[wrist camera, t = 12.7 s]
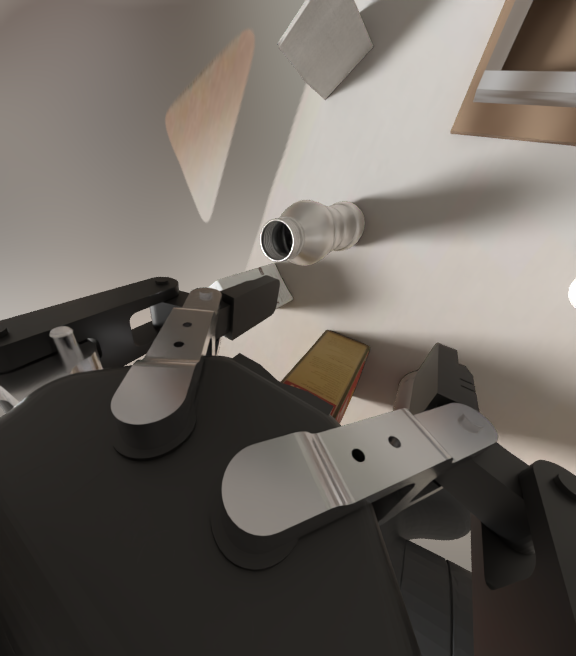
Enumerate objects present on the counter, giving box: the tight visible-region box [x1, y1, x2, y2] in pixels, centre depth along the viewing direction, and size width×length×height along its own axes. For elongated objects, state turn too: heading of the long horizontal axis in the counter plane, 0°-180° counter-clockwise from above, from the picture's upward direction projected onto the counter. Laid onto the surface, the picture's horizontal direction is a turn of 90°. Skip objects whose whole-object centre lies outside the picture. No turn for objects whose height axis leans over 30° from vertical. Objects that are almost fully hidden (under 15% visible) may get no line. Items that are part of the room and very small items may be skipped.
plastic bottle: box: [260, 200, 365, 266], centre depth 28 cm, size 6×7×20 cm
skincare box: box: [208, 263, 293, 337], centre depth 42 cm, size 8×6×15 cm
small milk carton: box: [277, 0, 373, 99], centre depth 25 cm, size 4×7×10 cm, turn 124°
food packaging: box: [281, 330, 370, 424], centre depth 38 cm, size 13×9×25 cm
